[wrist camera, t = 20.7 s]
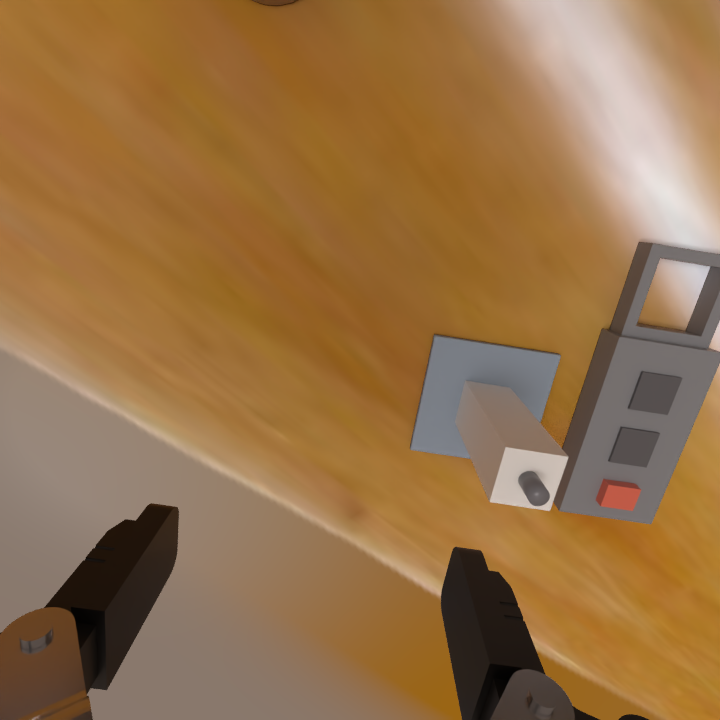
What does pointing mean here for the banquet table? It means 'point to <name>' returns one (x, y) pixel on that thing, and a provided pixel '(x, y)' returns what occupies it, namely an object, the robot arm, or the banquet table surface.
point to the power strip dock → (639, 398)
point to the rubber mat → (483, 365)
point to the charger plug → (509, 447)
